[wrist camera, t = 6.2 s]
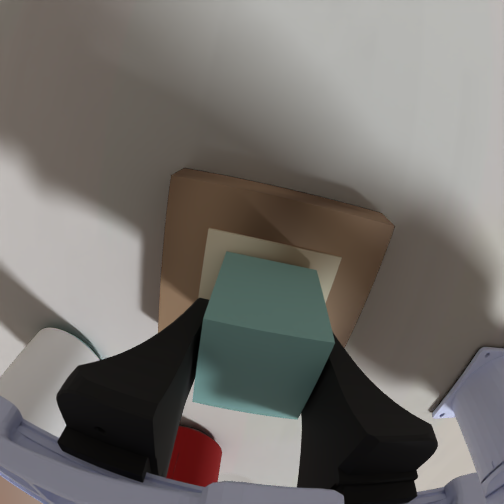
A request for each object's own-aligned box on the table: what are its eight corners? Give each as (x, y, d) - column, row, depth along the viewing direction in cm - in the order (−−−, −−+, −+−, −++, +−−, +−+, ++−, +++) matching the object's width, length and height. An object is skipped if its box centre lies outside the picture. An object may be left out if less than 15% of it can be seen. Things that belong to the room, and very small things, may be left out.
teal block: (316, 270, 14) (335, 342, 9) (293, 340, 15) (297, 419, 11) (226, 251, 14) (203, 318, 9) (213, 324, 15) (192, 401, 11)
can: (123, 362, 20) (54, 498, 10) (98, 399, 23) (45, 506, 12) (47, 306, 19) (-49, 418, 8) (35, 353, 22) (-33, 447, 11)
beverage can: (145, 411, 23) (101, 531, 12) (224, 426, 23) (201, 559, 12) (155, 448, 26) (124, 547, 15) (222, 461, 25) (204, 567, 14)
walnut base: (381, 213, 15) (395, 227, 13) (322, 361, 19) (326, 385, 17) (184, 167, 15) (170, 175, 13) (167, 329, 19) (157, 351, 17)
